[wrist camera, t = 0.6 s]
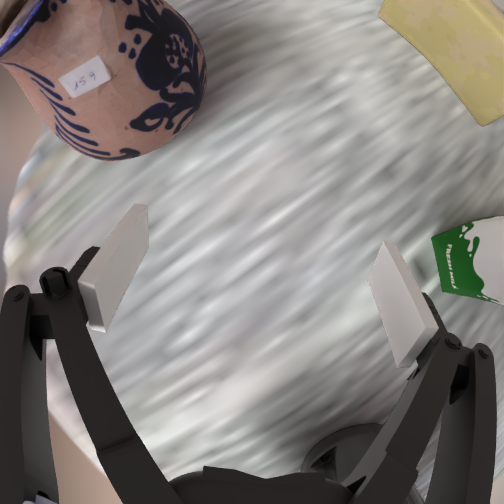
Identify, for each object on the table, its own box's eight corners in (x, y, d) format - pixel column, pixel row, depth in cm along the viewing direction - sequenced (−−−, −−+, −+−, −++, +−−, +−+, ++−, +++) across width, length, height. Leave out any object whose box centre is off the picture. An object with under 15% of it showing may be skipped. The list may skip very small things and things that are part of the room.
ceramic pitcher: (203, 178, 34) (90, 57, 9) (56, 171, 35) (-92, 121, 10) (226, 51, 34) (191, -110, 9) (87, 60, 35) (-9, -36, 10)
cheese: (498, 117, 33) (559, 83, 18) (465, 137, 33) (534, 99, 18) (414, 6, 33) (449, -50, 18) (373, 15, 33) (404, -52, 18)
